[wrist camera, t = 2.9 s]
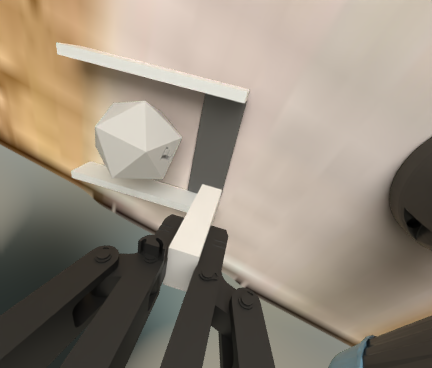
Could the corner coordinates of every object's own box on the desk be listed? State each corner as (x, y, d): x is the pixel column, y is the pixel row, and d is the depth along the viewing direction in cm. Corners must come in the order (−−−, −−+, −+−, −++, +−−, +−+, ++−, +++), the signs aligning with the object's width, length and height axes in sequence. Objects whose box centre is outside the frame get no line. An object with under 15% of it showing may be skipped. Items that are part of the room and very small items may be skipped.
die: (152, 174, 31) (170, 204, 23) (83, 150, 26) (75, 176, 18) (176, 120, 29) (204, 131, 21) (109, 85, 25) (113, 81, 17)
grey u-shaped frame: (249, 89, 23) (247, 91, 20) (218, 205, 30) (212, 220, 27) (82, 46, 24) (56, 42, 21) (90, 167, 31) (72, 177, 28)
